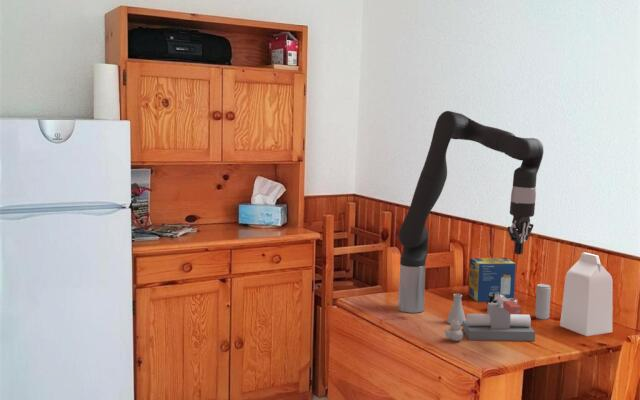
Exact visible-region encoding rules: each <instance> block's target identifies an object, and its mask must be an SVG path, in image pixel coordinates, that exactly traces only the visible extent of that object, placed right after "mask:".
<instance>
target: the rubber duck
mask: <svg viewBox="0 0 640 400" xmlns="http://www.w3.org/2000/svg"><path fill="white" fill-rule="evenodd" d="M461 326H462V325H461V324H460V323H459V321H458V320H457V317H456V319H453V320H452V321H451V323H450V324H449V327H450V328H448V329H445V330H444V334H445V338H446V339H449V340H451V341H453V342H458V341H462V340H463V337H464V331H463V329H461Z"/></svg>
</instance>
